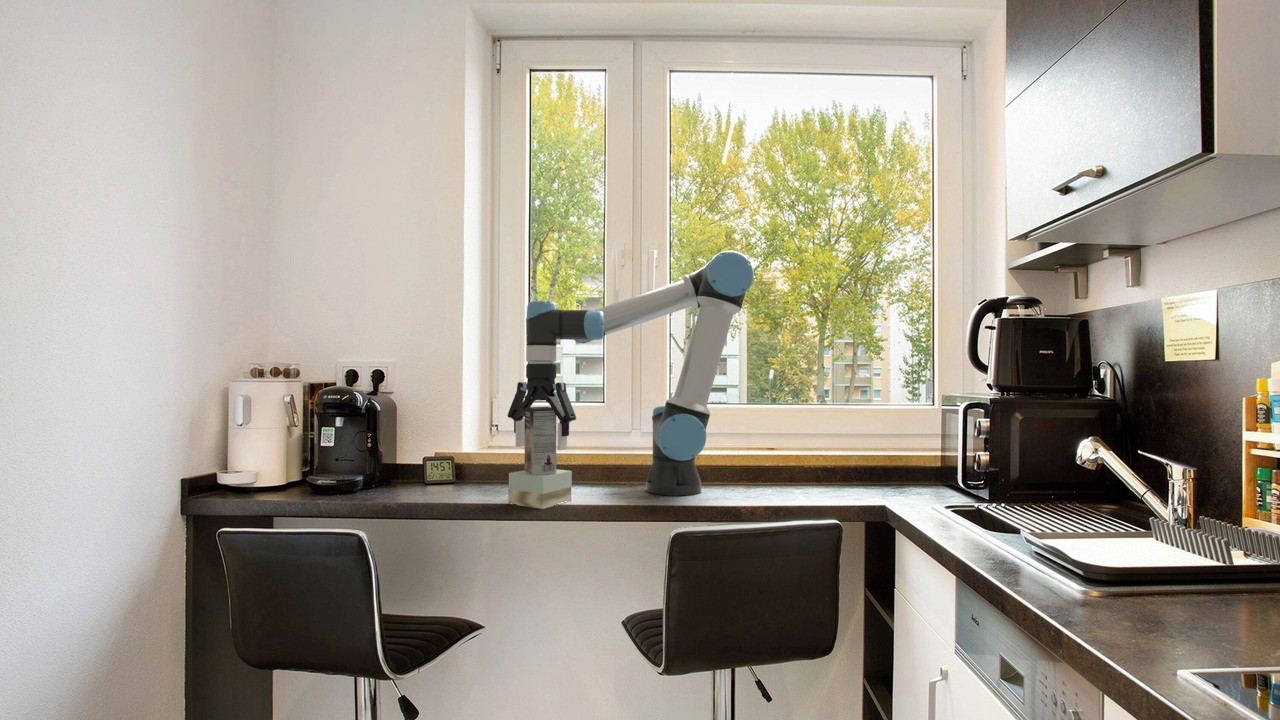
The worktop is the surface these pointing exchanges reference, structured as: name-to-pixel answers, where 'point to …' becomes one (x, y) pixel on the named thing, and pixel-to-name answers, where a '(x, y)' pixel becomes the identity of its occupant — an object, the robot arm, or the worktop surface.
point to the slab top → (540, 481)
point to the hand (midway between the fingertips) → (540, 448)
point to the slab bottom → (539, 498)
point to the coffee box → (540, 440)
